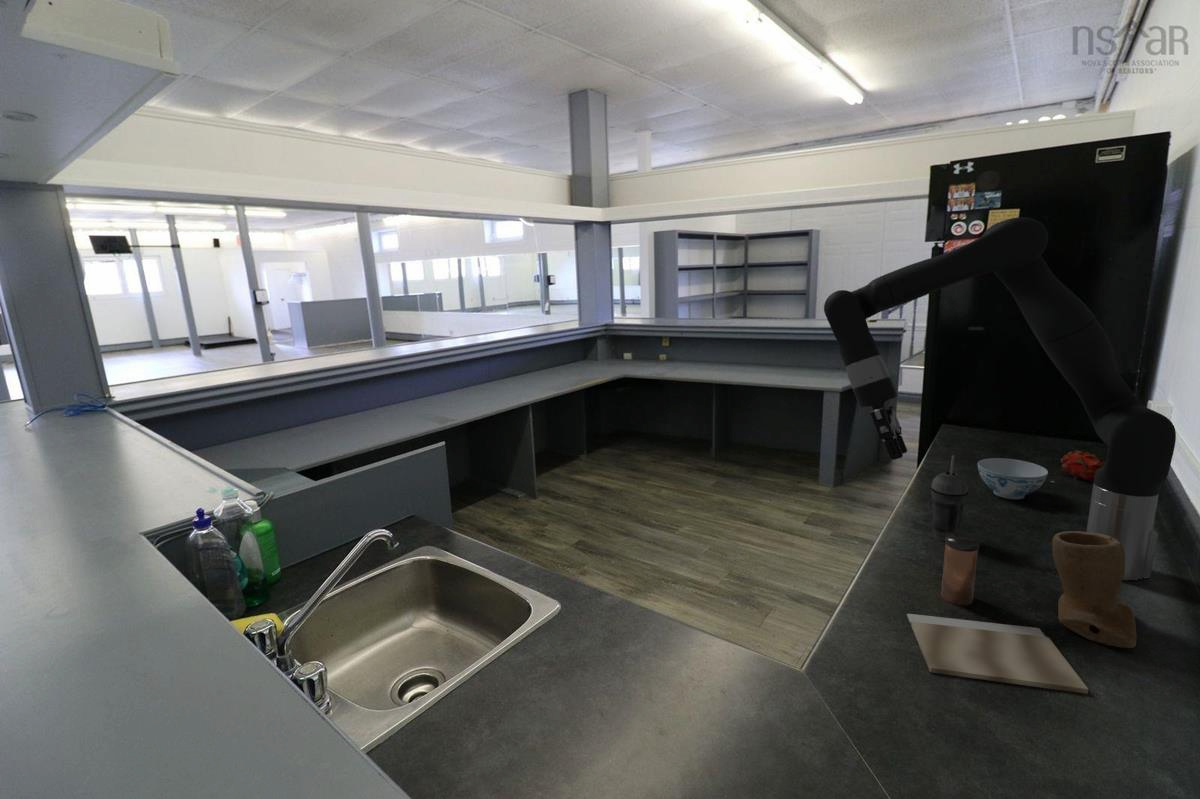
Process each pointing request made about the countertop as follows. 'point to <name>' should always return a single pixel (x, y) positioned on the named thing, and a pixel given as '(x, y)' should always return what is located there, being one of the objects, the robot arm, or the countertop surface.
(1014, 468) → the chinaware
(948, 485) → the beverage cup
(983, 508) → the countertop surface
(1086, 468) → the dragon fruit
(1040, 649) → the board
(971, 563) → the canister
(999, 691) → the countertop surface
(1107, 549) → the brown hollow flared piece
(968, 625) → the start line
